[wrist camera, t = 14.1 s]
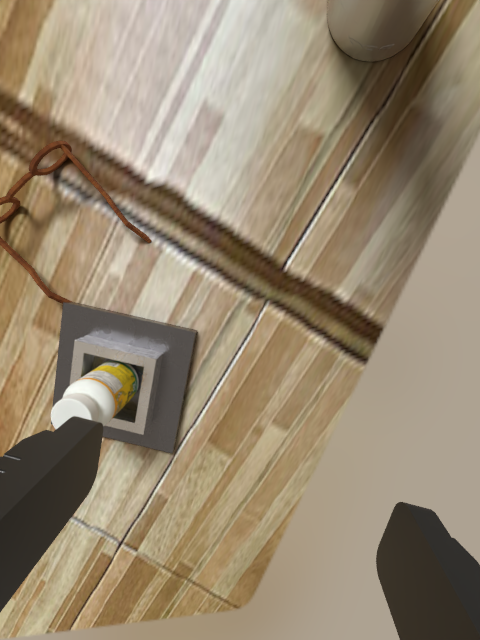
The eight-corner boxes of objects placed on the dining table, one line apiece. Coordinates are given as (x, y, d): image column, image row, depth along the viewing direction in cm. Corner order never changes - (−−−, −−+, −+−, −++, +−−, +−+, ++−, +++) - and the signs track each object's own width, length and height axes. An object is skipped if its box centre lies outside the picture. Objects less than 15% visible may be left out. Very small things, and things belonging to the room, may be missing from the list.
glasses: (77, 147, 35) (47, 128, 30) (153, 241, 36) (136, 237, 31) (1, 224, 37) (-39, 218, 32) (75, 310, 38) (47, 317, 34)
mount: (68, 301, 38) (49, 305, 34) (197, 330, 37) (190, 337, 34) (56, 420, 41) (36, 434, 37) (174, 448, 40) (166, 466, 37)
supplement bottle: (115, 349, 37) (65, 379, 28) (149, 379, 38) (111, 418, 28) (89, 380, 38) (32, 418, 29) (122, 409, 39) (76, 456, 29)
